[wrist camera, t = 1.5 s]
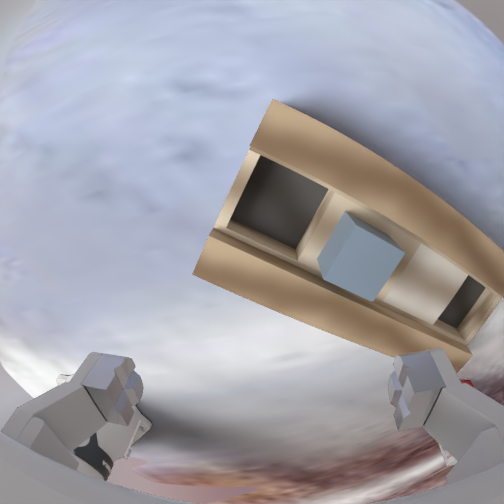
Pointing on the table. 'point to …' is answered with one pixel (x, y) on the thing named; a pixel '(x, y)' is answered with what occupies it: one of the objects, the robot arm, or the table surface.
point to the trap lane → (323, 224)
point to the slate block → (359, 257)
